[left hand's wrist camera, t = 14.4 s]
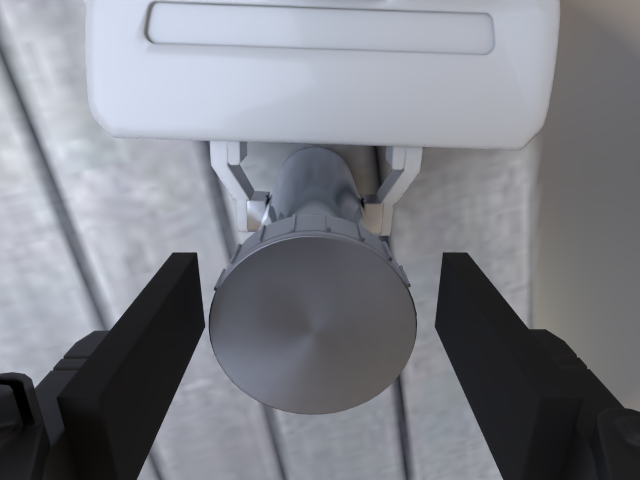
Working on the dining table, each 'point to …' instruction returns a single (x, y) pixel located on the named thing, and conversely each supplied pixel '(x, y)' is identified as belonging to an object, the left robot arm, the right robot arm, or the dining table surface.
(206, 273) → the dining table surface
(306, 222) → the lid
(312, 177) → the grey cylinder
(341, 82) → the right robot arm
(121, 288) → the dining table surface
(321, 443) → the dining table surface
